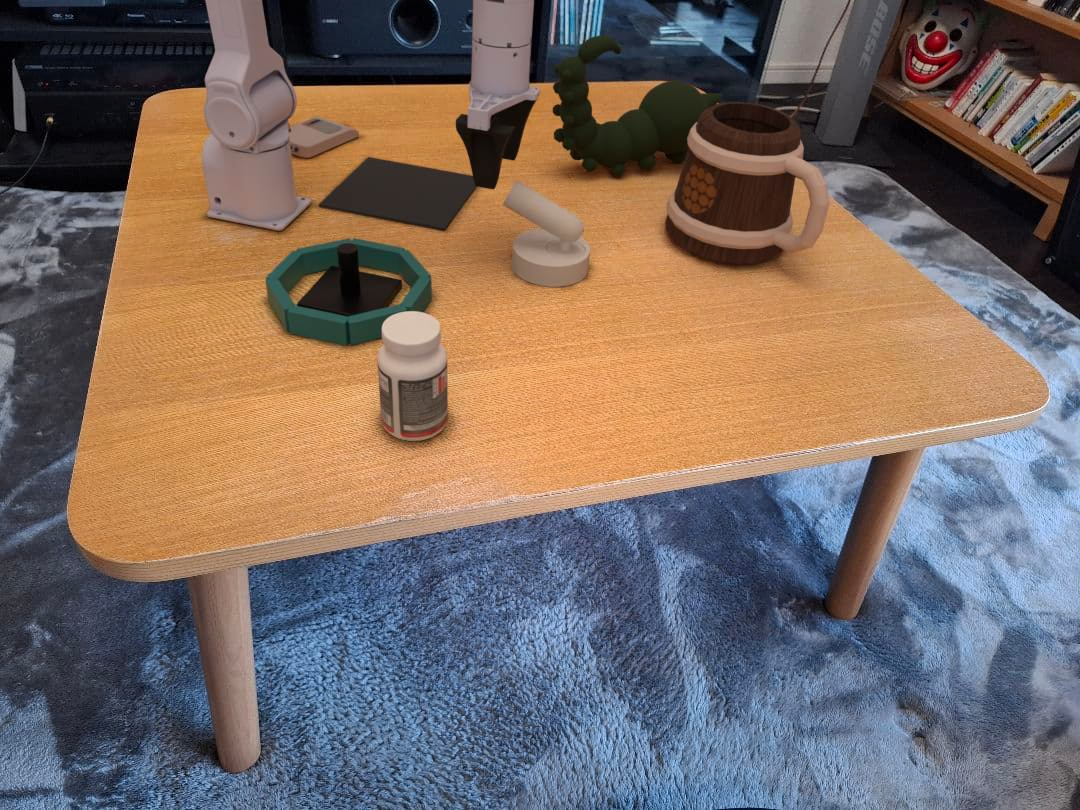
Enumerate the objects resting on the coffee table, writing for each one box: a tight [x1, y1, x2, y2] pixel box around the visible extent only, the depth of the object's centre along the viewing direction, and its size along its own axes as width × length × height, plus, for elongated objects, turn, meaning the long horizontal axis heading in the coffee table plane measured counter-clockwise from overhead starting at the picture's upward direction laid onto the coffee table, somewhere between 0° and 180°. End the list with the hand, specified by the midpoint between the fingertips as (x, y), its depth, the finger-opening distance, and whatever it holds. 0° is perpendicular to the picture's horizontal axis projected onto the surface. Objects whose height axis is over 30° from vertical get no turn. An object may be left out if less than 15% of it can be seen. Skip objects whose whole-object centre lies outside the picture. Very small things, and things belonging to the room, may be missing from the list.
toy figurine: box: [552, 34, 724, 178], centre depth 114 cm, size 9×19×25 cm
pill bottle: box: [376, 311, 449, 442], centre depth 72 cm, size 6×6×10 cm
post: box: [296, 243, 403, 317], centre depth 87 cm, size 8×8×6 cm
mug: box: [664, 101, 830, 267], centre depth 99 cm, size 20×15×15 cm
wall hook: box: [502, 179, 591, 288], centre depth 94 cm, size 9×10×10 cm
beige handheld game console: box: [289, 116, 360, 159], centre depth 117 cm, size 7×16×3 cm, turn 148°
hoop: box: [265, 237, 433, 346], centre depth 88 cm, size 15×15×3 cm
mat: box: [318, 156, 478, 231], centre depth 108 cm, size 16×15×1 cm
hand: (496, 172), depth 91 cm, fingers open, 7 cm apart
